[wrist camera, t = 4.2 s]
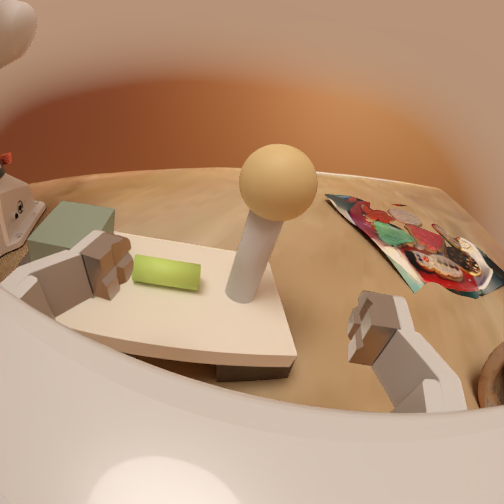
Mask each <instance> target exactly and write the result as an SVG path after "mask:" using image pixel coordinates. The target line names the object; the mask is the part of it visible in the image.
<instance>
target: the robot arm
mask: <svg viewBox="0 0 504 504" xmlns="http://www.w3.org/2000/svg"><path fill="white" fill-rule="evenodd" d="M36 29H37V17H36V13H35V11H34V9H33V8H32V7H31V6H30V5H29V4H28V3H25V2H21V1H18V0H0V69H1V68H3V67H5V66H7V65H8V64H10V63H12V62H14V61H15V60H17V59H19V58H21V57H22V56H23V55H24V54H25V53H26V51H27V50H28V48H29V47H30V45H31V43H32V41H33V39H34V37H35V33H36ZM11 157H12V156H11V154H10V153H6V154H2V155H1V157H0V256H2V255H3V254H5V253H7V252H9V251H12V250H14V249H17V248H19V247H21V246H22V245H23V244H24V242H25V241H26V239H27V237H28V235H29V234H30V232H31V231H32V229H33V227H34V226H35V224H36V223H37V221H38V219H39V218H40V216H41V215H42V213H43V212H44V210H45V209H46V204H45V203H44V202H41V201H34V199H33V195H32V192H31V189H30V187H29V185H28V184H27V183H25V182H23V181H21V180H19V179H16V178H14V177H12V176H10V175H8V174H6V173H5V169H4V167H3V165H5V164H10V163H11V160H12V158H11ZM10 158H11V159H10ZM130 250H131V243H130V240H129V239H128V238H127V237H123V236H120V235H116V234H112V233H108V232H104V231H100V230H93V231H92V232H91V233H90V234H88V235H87V236H86V237H85V238H83V239H82V240H81V241H80V242H79V243H77V244H76V245H75V246H74V247H73V248H71V249H70V250H64V251H61V252H58V253H55V254H52V255H49V256H47V257H44V258H41V259H38V260H35V261H33V262H30V263H27V264H25V265H22V266H19V267H17V268H16V269H15V270H14V271H13V272H12V273H11V274H10V275H9V276H8V277H6V278H5V279H4V280H3V281H2V282H1V283H0V504H504V405H499V406H493V407H487V408H480V409H471V410H467V406H466V401H465V397H464V392H463V388H462V384H461V380H460V378H459V377H458V376H457V375H456V374H455V372H454V371H453V370H452V369H451V368H450V367H449V365H448V364H447V363H446V362H445V361H444V360H443V359H442V357H441V356H440V355H439V354H438V353H437V352H436V351H435V350H434V348H433V347H432V346H431V345H430V344H429V343H428V342H427V341H426V340H425V339H424V338H423V336H422V335H421V334H420V333H418V332H415V329H414V326H413V322H412V319H411V315H410V312H409V309H408V305H407V302H406V299H405V298H404V297H400V296H394V295H386V294H381V293H375V292H370V291H365V290H363V291H362V292H361V294H360V296H359V298H358V305H359V306H357V307H356V308H354V309H353V311H352V313H351V315H350V318H349V322H348V328H347V336H348V337H349V339H350V340H351V342H350V343H349V345H348V362H350V363H356V364H362V365H369V366H372V369H373V371H374V373H375V374H376V376H377V378H378V379H379V381H380V383H381V384H382V386H383V388H384V390H385V391H386V393H387V395H388V397H389V398H390V400H391V402H392V404H393V406H394V407H395V408H394V409H393V410H392V411H391V412H390V413H385V412H366V411H353V410H342V409H333V408H324V407H317V406H310V405H303V404H297V403H291V402H285V401H280V400H274V399H269V398H264V397H260V396H255V395H251V394H246V393H242V392H238V391H234V390H230V389H226V388H222V387H219V386H215V385H212V384H208V383H205V382H201V381H198V380H195V379H192V378H188V377H185V376H182V375H179V374H176V373H173V372H170V371H167V370H165V369H162V368H159V367H156V366H154V365H151V364H148V363H146V362H143V361H141V360H138V359H136V358H133V357H131V356H128V355H126V354H124V353H121V352H119V351H117V350H114V349H112V348H110V347H108V346H105V345H103V344H101V343H99V342H97V341H95V340H92V339H90V338H88V337H86V336H84V335H82V334H80V333H78V332H76V331H74V330H72V329H71V328H69V327H67V326H65V325H63V324H61V323H59V322H58V321H56V319H55V318H56V317H57V316H59V315H61V314H63V313H64V312H66V311H68V310H70V309H71V308H73V307H75V306H77V305H78V304H80V303H82V302H84V301H86V300H87V299H89V298H91V297H93V295H94V296H97V297H100V298H103V299H106V300H109V301H111V300H112V299H113V298H114V297H115V296H116V294H117V293H118V292H119V291H120V285H121V284H124V283H126V282H127V281H128V280H129V279H130V277H131V275H132V272H133V267H134V262H133V258H132V256H131V255H130V253H129V251H130Z"/></svg>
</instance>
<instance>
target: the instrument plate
mask: <svg viewBox="0 0 504 504" xmlns="http://www.w3.org/2000/svg"><path fill="white" fill-rule="evenodd" d="M317 186H318V181H317V174H316V171H315V168H314V166H313V164H312V162H311V161H310V160H309V158H308V157H307V156H306V155H305V154H304V153H303V152H301V151H300V150H298V149H296V148H294V147H292V146H289V145H284V144H272V145H267V146H264V147H262V148H260V149H258V150H256V151H255V152H254V153H252V154H251V155H250V156H249V157H248V159H247V160H246V161H245V163H244V165H243V167H242V170H241V173H240V177H239V187H240V192H241V195H242V198H243V200H244V202H245V203H246V205H247V206H248V207H249V208H250V211H249V214H248V217H247V221H246V224H245V227H244V230H243V233H242V237H241V240H240V243H239V246H238V249H237V252H235V251H229V250H223V249H217V248H211V247H205V246H199V245H193V244H187V243H181V242H175V241H169V240H163V239H157V238H151V237H145V236H139V235H133V234H127V233H121V232H115V231H114V218H115V209H113V208H107V207H101V206H94V205H88V204H81V203H74V202H67V201H61V202H60V203H59V204H58V205H57V206H56V207H55V209H54V210H53V211H52V212H51V213H50V214H49V215H48V216H47V217H46V218H45V219H44V220H43V221H42V223H41V224H40V225H39V226H38V227H37V228H36V229H35V230H34V232H33V233H32V234H31V235H30V236H29V238H28V239H27V244H28V249H29V255H30V260H31V262H33V261H35V260H38V259H41V258H44V257H47V256H49V255H52V254H55V253H58V252H61V251H64V250H70V249H71V248H73V247H74V246H75V245H76V244H77V243H79V242H80V241H81V240H82V239H83V238H85V237H86V236H87V235H88V234H90V233H91V232H92V231H93V230H100V231H104V232H108V233H112V234H116V235H120V236H123V237H127V238H128V239H129V240H130V243H131V250H130V251H129V253H130V255H131V256H132V258H133V262H134V267H133V272H132V275H131V277H130V279H129V280H128V281H127V282H126V283H124V284H121V285H120V291H119V292H118V293H117V294H116V296H115V297H114V298H113V299H112V300H111V301H109V300H106V299H103V298H100V297H97V296H94V295H93V297H91V298H89V299H87V300H86V301H84V302H82V303H80V304H78V305H77V306H75V307H73V308H71V309H70V310H68V311H66V312H64V313H63V314H61V315H59V316H57V317H56V318H55V319H56V321H58V322H59V323H61V324H63V325H65V326H67V327H69V328H71V329H72V330H74V331H76V332H78V333H80V334H82V335H84V336H86V337H88V338H90V339H92V340H95V341H97V342H99V343H101V344H103V345H105V346H108V347H110V348H112V349H114V350H117V351H119V352H123V353H128V354H134V355H140V356H147V357H153V358H160V359H168V360H176V361H185V362H194V363H205V364H217V365H233V366H255V367H290V366H291V364H292V363H293V361H294V360H295V359H296V357H297V356H298V355H297V352H296V349H295V345H294V342H293V339H292V336H291V332H290V329H289V326H288V323H287V319H286V316H285V313H284V310H283V306H282V303H281V300H280V297H279V293H278V290H277V287H276V284H275V281H274V278H273V274H272V271H271V268H270V265H269V262H268V261H269V258H270V256H271V253H272V251H273V248H274V246H275V243H276V241H277V238H278V235H279V233H280V230H281V228H282V225H283V222H284V221H287V220H291V219H294V218H296V217H298V216H299V215H301V214H302V213H304V212H305V211H306V210H307V209H308V208H309V207H310V205H311V204H312V202H313V200H314V198H315V195H316V192H317Z"/></svg>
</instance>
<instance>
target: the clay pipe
mask: <svg viewBox="0 0 504 504" xmlns="http://www.w3.org/2000/svg"><path fill="white" fill-rule="evenodd" d="M478 399H479V404H480V408H487V407H493V406H499V405H504V342H503V343H501V344H500V345H499V346H498V347H497V348H495V349H494V350H493V352H492V353H491V354H490V356H489V358H488V359H487V361H486V363H485V365H484V367H483V369H482V371H481V374H480V377H479V382H478Z"/></svg>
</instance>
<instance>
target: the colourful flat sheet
mask: <svg viewBox="0 0 504 504" xmlns="http://www.w3.org/2000/svg"><path fill="white" fill-rule="evenodd" d="M325 195H326V196H327V198H328V199H329V200H330V201H331V202H332V204H333V205H334V206H335V207H336V208H337V210H338V211H339V212H340V213H341V214H342V215H343V216H344V217H345V218H347V219H348V220H349V221H350V222H352V223H353V224H355V225H356V226H357V227H359V228H360V229H361V230H363V231H364V232H365V233H366V234H367V235H368V236H369V237H370V238H371V239H372V240H373V241H374V242H375V243H376V244H377V245H378V246H379V247H380V248H381V249H382V251H383V252H384V253H385V254H386V255H387V257H388V258H389V259H390V261H391V262H392V263H393V264H394V266H395V267H396V269H397V270H398V271H399V273H400V274H401V275H402V277H403V278H404V280H405V281H406V282H407V284H408V285H409V286H410V288H411V289H412V291H413V292H414V293H416V292H417V291H418V290H419V289H420V288H421V287H422V286H423V285H424V284H426V283H428V282H435V283H438V284H440V285H442V286H443V287H445V288H446V289H447V290H449V291H451V292H453V293H455V294H458V295H461V296H466V297H471V298H474V299H477V298H478V297H479V294H480V295H484V294H487V293H490V292H492V291H494V290H495V289H497V288H498V287H500V286H501V285H503V284H504V271H503V270H502V269H500V268H499V267H498V266H497V265H496V264H495V263H494V262H493V261H492V260H491V259H490V258H488V257H487V256H486V255H485V254H484V253H483V252H482V251H481V250H480V249H479V248H477V247H476V246H475V245H473V244H472V243H470V242H469V241H467V240H465V239H464V238H459V237H457V238H453V237H451V236H450V235H449V234H448V233H447V232H446V231H444V230H443V229H442V228H441V227H440V226H438V225H436V224H432V227H433V228H434V229H435V230H436V231H437V232H438V233H439V234H440V235H441V236H442V237H443V238H442V237H441V236H440V235H437V234H434V233H432V232H430V231H428V230H425V229H422V228H419V227H421V226H422V223H421V221H420V220H419V219H418V218H417V217H416V216H414V215H413V214H411V213H409V212H407V211H403V210H399V209H389V210H388V213H389V214H390V215H391V216H392V217H393V218H392V217H390V216H388V215H387V213H386V212H384V211H380V210H372V209H370V202H366V201H363V200H360V199H358V198H355V197H351V196H343V195H330V194H325ZM393 205H396V206H407V205H398V204H393ZM363 214H365V216H363ZM365 218H367V219H369V220H372V221H376V222H368V221H366V220H365ZM395 220H397V221H399V222H401V223H403V224H405V226H404V227H405V228H406V229H407V230H408V232H409V234H410V235H411V236H410V235H409V234H408V233H406V232H405V231H403V230H402V229H400V228H399V227H397V226H395V225H392V224H390V222H389V221H395ZM445 240H446V241H447V242H448V243H449V244H450V245H451V246H452V247H446V244H445ZM418 246H419V247H421V248H422V250H418V249H417V247H418Z"/></svg>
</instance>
